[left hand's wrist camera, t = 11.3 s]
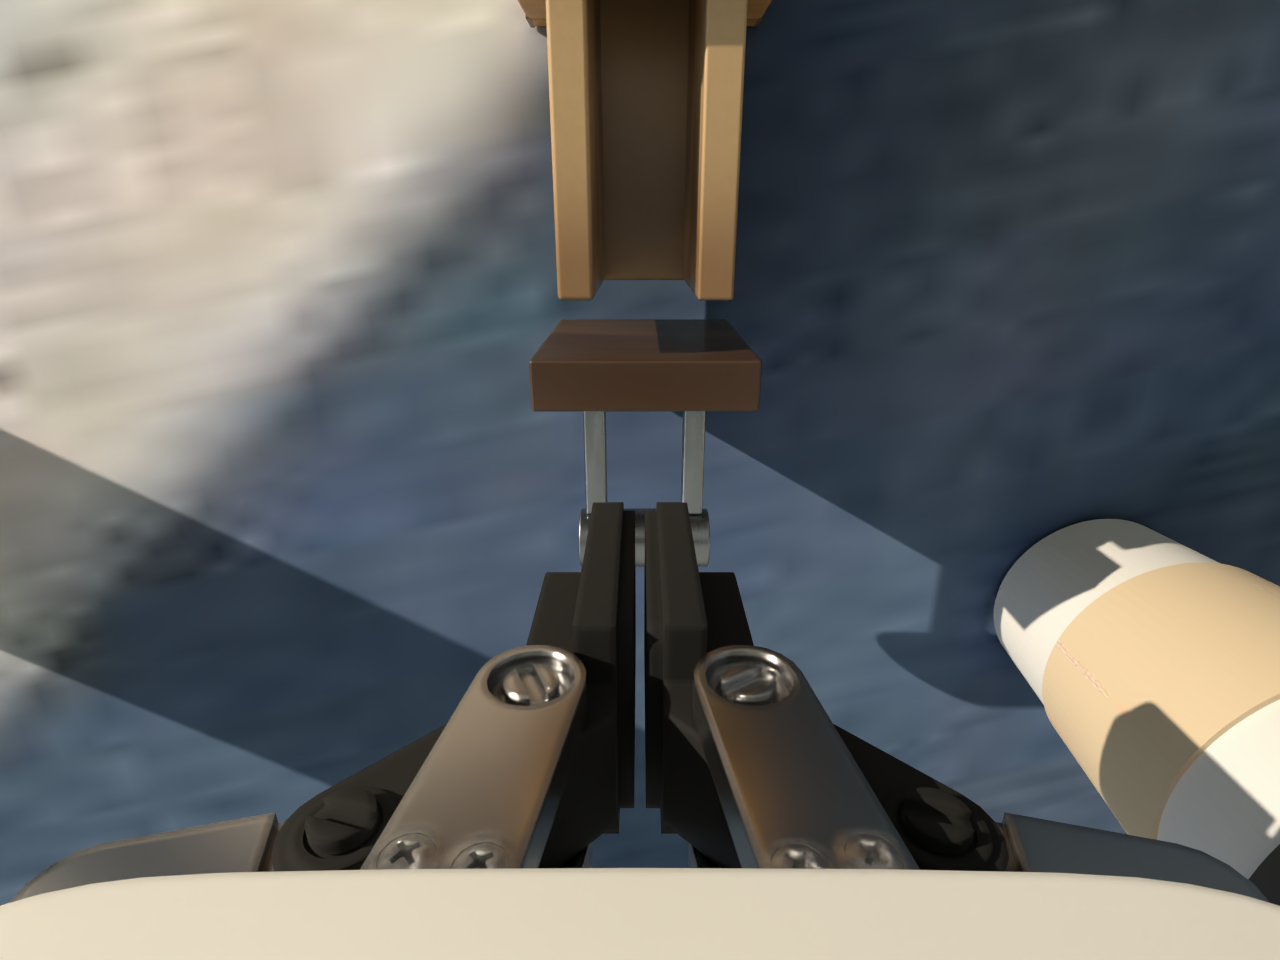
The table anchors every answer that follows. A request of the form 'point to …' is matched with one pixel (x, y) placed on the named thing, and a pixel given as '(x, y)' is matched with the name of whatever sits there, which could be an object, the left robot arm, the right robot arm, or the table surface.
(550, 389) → the drawer
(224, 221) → the table surface
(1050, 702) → the coffee cup
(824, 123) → the table surface
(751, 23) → the cabinet
